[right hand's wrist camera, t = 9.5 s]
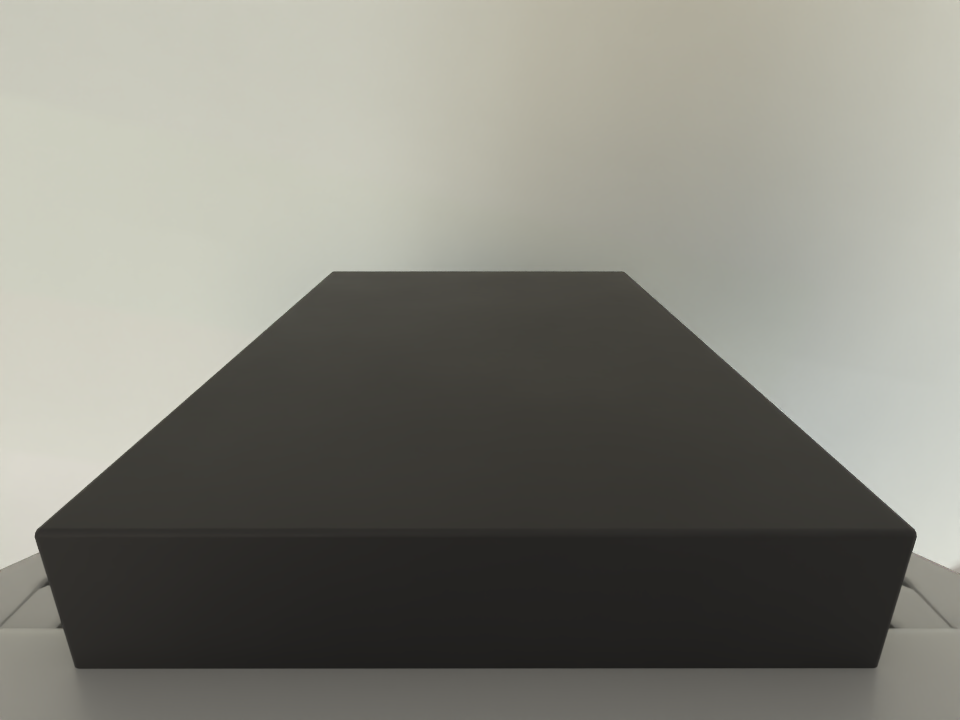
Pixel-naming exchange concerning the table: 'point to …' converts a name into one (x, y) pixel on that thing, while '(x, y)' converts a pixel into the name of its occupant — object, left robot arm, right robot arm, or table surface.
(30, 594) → the right robot arm
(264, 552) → the box
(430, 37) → the table surface
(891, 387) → the table surface
